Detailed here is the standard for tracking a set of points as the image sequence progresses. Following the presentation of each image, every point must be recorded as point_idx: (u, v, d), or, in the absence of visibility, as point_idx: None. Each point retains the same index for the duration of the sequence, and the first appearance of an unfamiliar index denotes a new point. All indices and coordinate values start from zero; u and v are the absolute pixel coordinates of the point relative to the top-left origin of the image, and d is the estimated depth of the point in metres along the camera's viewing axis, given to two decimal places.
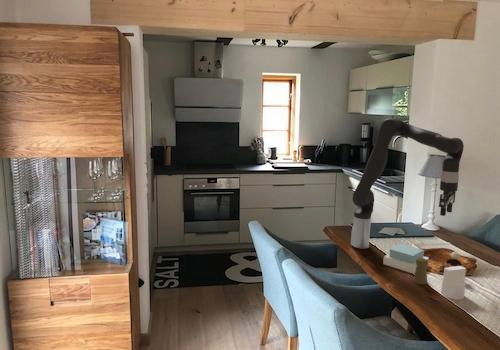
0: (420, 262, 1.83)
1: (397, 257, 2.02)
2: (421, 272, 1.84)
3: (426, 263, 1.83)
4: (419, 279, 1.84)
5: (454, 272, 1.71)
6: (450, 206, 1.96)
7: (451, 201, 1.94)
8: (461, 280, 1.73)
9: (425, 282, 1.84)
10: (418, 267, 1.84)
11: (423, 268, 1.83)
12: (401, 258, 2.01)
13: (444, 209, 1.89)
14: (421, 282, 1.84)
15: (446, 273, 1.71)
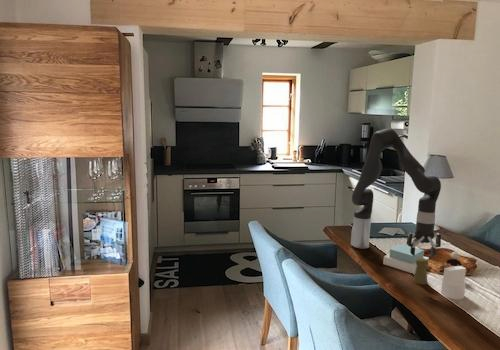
0: (420, 262, 1.83)
1: (397, 257, 2.02)
2: (421, 272, 1.84)
3: (426, 263, 1.83)
4: (419, 279, 1.84)
5: (454, 272, 1.71)
6: None
7: None
8: (461, 280, 1.73)
9: (425, 282, 1.84)
10: (418, 267, 1.84)
11: (423, 268, 1.83)
12: (401, 258, 2.01)
13: None
14: (421, 282, 1.84)
15: (446, 273, 1.71)
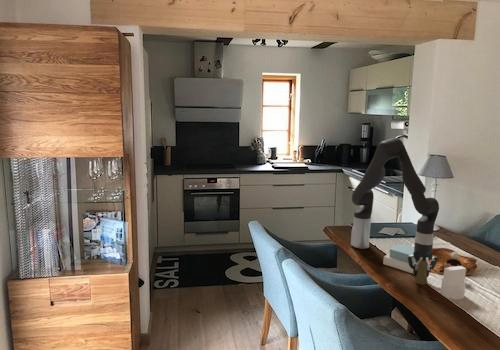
0: (420, 262, 1.83)
1: (397, 257, 2.02)
2: (421, 272, 1.84)
3: (426, 263, 1.83)
4: (419, 279, 1.84)
5: (454, 272, 1.71)
6: None
7: None
8: (461, 280, 1.73)
9: (425, 282, 1.84)
10: (418, 267, 1.84)
11: (423, 268, 1.83)
12: (401, 258, 2.01)
13: None
14: (421, 282, 1.84)
15: (446, 273, 1.71)
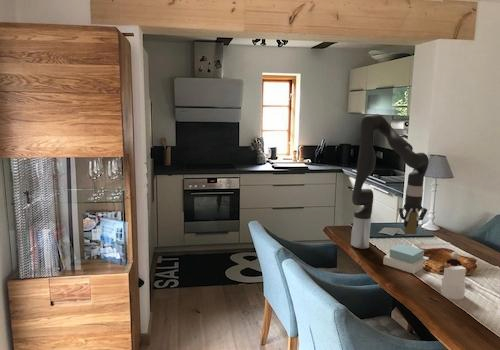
0: (410, 213, 1.96)
1: (397, 257, 2.02)
2: (411, 222, 1.97)
3: (416, 214, 1.96)
4: (409, 229, 1.97)
5: (454, 272, 1.71)
6: None
7: None
8: (461, 280, 1.73)
9: (415, 232, 1.97)
10: None
11: (413, 219, 1.97)
12: (401, 258, 2.01)
13: None
14: (411, 232, 1.97)
15: (446, 273, 1.71)
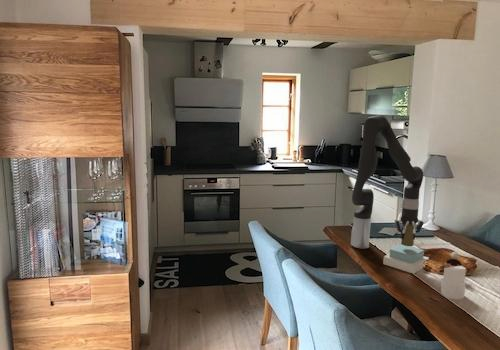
0: (407, 226, 2.01)
1: (397, 257, 2.02)
2: (408, 234, 2.01)
3: (412, 226, 2.00)
4: (406, 241, 2.02)
5: (454, 272, 1.71)
6: None
7: None
8: (461, 280, 1.73)
9: (411, 244, 2.01)
10: (405, 230, 2.02)
11: (410, 231, 2.01)
12: (401, 258, 2.01)
13: None
14: (408, 244, 2.01)
15: (446, 273, 1.71)
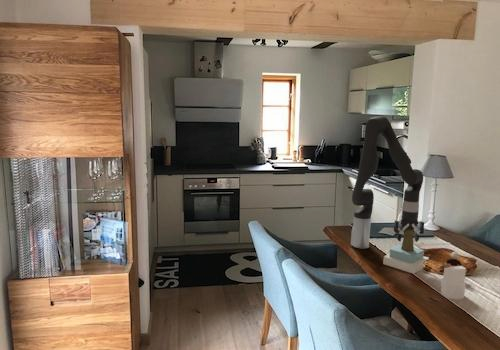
0: (407, 231, 2.01)
1: (397, 257, 2.02)
2: (408, 240, 2.02)
3: (413, 232, 2.01)
4: (406, 247, 2.02)
5: (454, 272, 1.71)
6: None
7: None
8: (461, 280, 1.73)
9: (412, 249, 2.02)
10: (405, 236, 2.02)
11: (410, 237, 2.01)
12: (401, 258, 2.01)
13: None
14: (408, 249, 2.02)
15: (446, 273, 1.71)
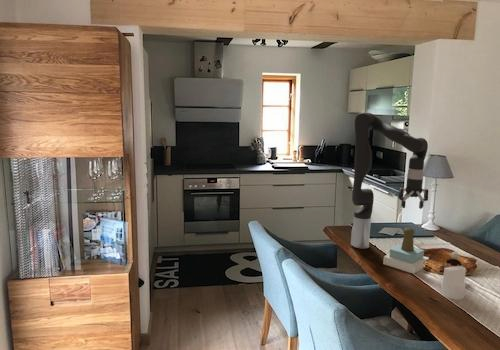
0: (407, 231, 2.01)
1: (397, 257, 2.02)
2: (408, 240, 2.02)
3: (413, 232, 2.01)
4: (406, 247, 2.02)
5: (454, 272, 1.71)
6: None
7: None
8: (461, 280, 1.73)
9: (412, 249, 2.02)
10: (405, 236, 2.02)
11: (410, 237, 2.01)
12: (401, 258, 2.01)
13: None
14: (408, 249, 2.02)
15: (446, 273, 1.71)
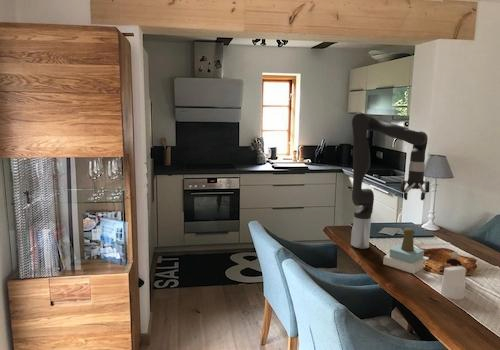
0: (407, 231, 2.01)
1: (397, 257, 2.02)
2: (408, 240, 2.02)
3: (413, 232, 2.01)
4: (406, 247, 2.02)
5: (454, 272, 1.71)
6: None
7: None
8: (461, 280, 1.73)
9: (412, 249, 2.02)
10: (405, 236, 2.02)
11: (410, 237, 2.01)
12: (401, 258, 2.01)
13: None
14: (408, 249, 2.02)
15: (446, 273, 1.71)
